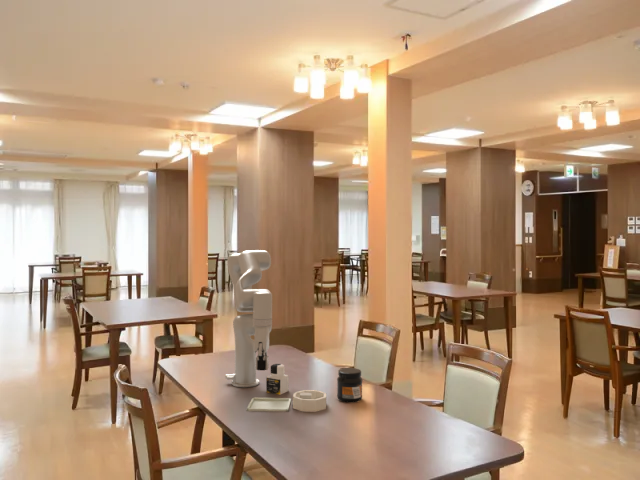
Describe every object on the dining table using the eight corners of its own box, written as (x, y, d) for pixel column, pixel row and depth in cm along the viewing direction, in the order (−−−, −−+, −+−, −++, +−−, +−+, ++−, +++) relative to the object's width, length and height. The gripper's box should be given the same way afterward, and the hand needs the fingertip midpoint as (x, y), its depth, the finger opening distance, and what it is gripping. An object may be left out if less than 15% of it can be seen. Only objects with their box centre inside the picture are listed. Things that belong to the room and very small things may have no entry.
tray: (246, 411, 211) (246, 408, 211) (252, 400, 225) (252, 397, 225) (287, 412, 210) (287, 409, 210) (291, 401, 224) (291, 398, 224)
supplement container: (360, 404, 221) (360, 374, 221) (334, 402, 223) (335, 373, 223) (363, 396, 231) (363, 368, 231) (339, 394, 233) (339, 366, 233)
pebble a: (299, 407, 214) (299, 395, 213) (300, 404, 217) (300, 392, 217) (311, 407, 214) (311, 395, 213) (311, 404, 217) (311, 392, 217)
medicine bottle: (266, 393, 235) (266, 365, 235) (274, 389, 241) (275, 362, 241) (280, 395, 231) (280, 367, 231) (288, 391, 238) (289, 363, 238)
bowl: (291, 412, 210) (292, 399, 210) (294, 401, 223) (294, 389, 223) (325, 412, 210) (325, 400, 210) (326, 402, 223) (326, 390, 223)
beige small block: (256, 369, 216) (256, 357, 215) (257, 367, 219) (257, 355, 219) (267, 370, 215) (267, 357, 215) (268, 367, 219) (268, 355, 219)
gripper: (256, 319, 225) (256, 363, 226) (249, 326, 209) (249, 374, 209) (274, 319, 225) (274, 363, 225) (269, 326, 208) (268, 374, 209)
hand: (262, 368), depth 217 cm, fingers closed on beige small block, 3 cm apart
